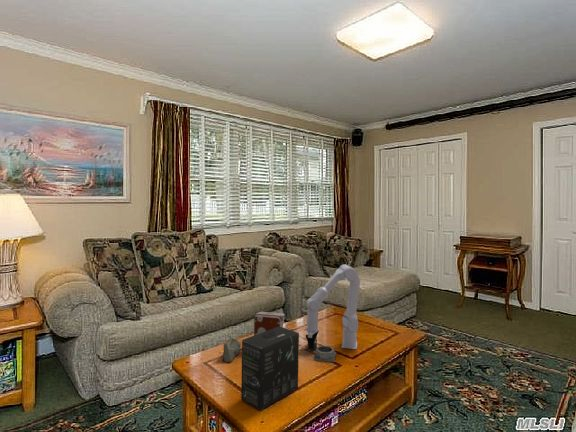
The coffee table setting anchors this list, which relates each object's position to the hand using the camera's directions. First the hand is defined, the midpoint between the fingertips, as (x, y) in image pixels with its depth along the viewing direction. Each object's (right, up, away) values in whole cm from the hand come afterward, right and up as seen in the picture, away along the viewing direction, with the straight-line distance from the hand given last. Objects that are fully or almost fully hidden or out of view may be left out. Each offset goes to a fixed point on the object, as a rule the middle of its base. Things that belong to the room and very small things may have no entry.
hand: (312, 346), depth 186 cm
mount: (+6, -2, -10) cm, 11 cm away
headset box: (-20, -4, -43) cm, 48 cm away
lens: (0, -2, 0) cm, 2 cm away
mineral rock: (-41, -2, -10) cm, 42 cm away
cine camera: (-21, -2, -4) cm, 21 cm away
